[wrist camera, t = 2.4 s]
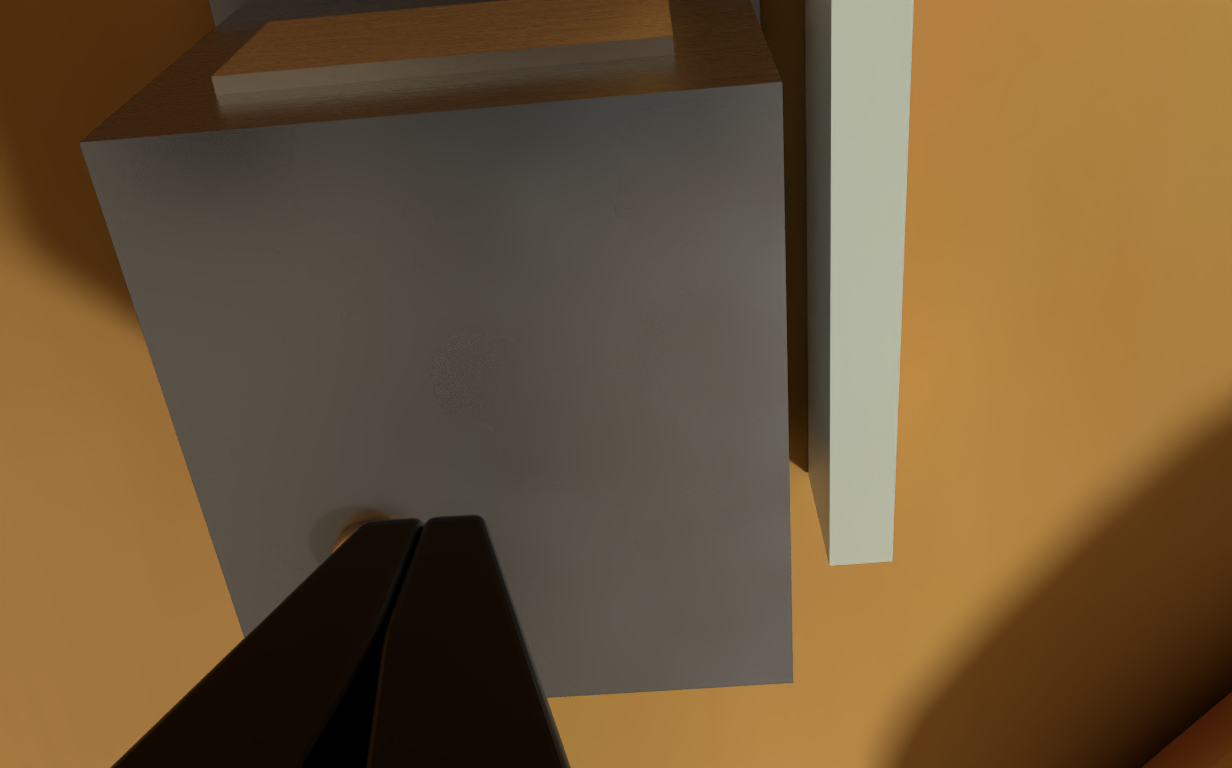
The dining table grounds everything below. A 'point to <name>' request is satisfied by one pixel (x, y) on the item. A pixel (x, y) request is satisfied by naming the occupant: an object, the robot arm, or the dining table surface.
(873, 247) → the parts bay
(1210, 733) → the hot dog
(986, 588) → the dining table surface
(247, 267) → the box
